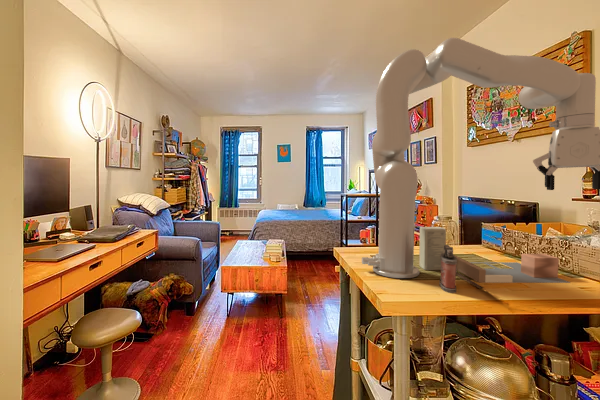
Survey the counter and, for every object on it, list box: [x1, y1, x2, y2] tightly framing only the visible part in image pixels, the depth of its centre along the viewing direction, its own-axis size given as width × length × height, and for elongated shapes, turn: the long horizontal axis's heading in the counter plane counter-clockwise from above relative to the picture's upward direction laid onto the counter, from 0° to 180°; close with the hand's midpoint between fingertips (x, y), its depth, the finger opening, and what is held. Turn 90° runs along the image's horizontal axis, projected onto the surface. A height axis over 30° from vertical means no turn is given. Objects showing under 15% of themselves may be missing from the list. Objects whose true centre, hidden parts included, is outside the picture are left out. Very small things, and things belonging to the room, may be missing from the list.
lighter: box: [439, 244, 458, 294], centre depth 73 cm, size 8×3×10 cm, turn 163°
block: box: [520, 253, 560, 278], centre depth 77 cm, size 6×4×5 cm
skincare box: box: [418, 226, 447, 271], centre depth 88 cm, size 6×4×12 cm
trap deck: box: [453, 254, 571, 289], centre depth 81 cm, size 22×18×4 cm
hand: (573, 189), depth 79 cm, fingers open, 9 cm apart
